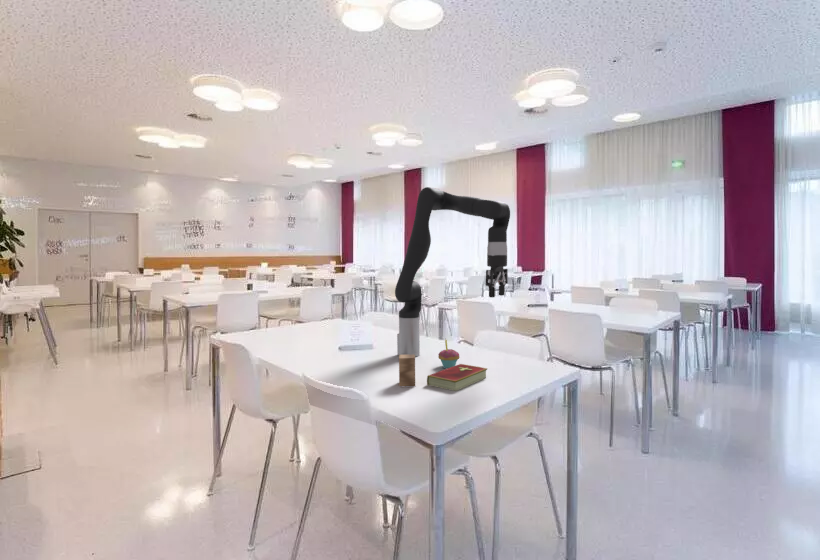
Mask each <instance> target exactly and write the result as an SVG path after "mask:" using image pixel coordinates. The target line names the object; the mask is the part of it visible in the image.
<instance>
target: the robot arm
mask: <svg viewBox="0 0 820 560" xmlns="http://www.w3.org/2000/svg"><path fill="white" fill-rule="evenodd" d="M415 207H416V209H415V216H414V220H413V225H412V229H411V233H410V234H411V235H410V237H409V240H408V244H407V249H406V252H405V257H404V262H403V265H402V268H401V271H400V274H399V276H398V280H397V283H396V286H395V290H394V296H395V298H396V300H397V302H399V303H403V304H404V305H403V307H402V308H401V309H400V310H399V312H398V333H397V335H396V337H397V338H396V339H397V341H396V343H397V344H396V345H397V352H396V353H397V355H398V356H399V355H412V354H415V357H419V356H420V354H421V352H420V350H421V349H420V347H421V346H420V336H421V335H420V313H421V310H422V300H423V299H422V296H423V295H422V293H423V292H422V287H421V284H420V283H418V281H416V280H415V277H416V274H417V272H418V271H419V269H420V268H421V266H423V264H424V262H425V261H426V259H427V257H428V256H429V251H430V248H431V244H432V237H431V232H430V218H431V216H432V215H431V214H432V211H443V210H444V211H454V212H458V213H461V214H464V215H468V216H473V217H481V218H485V219H488V220H493V223H492V226H491V227H489V228H488V232H487V247H486V249H487V251H486V252H487V253H486V258H487V259H486V265H487V267H488V268H489V267H490V269H486V270H485V287H488V297H489V298H496V285H497V283H498V295H499V296H503V297H504V296H505V295H506V294H505V293H506V289H505V288H506V286H507V284H508V281H509V280H508V279H509V277H508V276H509V275H508V273H509V272H508V268H505V267H507V266H508V243H507V242H508V240H507V238H508V237H507V236H508V235H507V231H508V227H509V223H510V219H511V209H510V206H509V204H508V203H506V202H504V201H498V200H492V199H490V200H489V199H483V198H481V197H474V196H466V195H463V196H462V195H455V194H452V193H449V192H447V191H444V190H441V189H440V188H434V187H427V186H426V187H423V188H422V189H421V190H420V191H419V194H418V197H417V203H416V206H415Z"/></svg>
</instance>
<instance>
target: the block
mask: <svg viewBox="0 0 820 560" xmlns="http://www.w3.org/2000/svg"><path fill="white" fill-rule="evenodd" d="M398 366H399V367H398V369H399V370H398V373H399V375H398V377H399V380H398V384H399V386H415V387H416V356H415V354H412V355H398Z"/></svg>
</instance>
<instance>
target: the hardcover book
mask: <svg viewBox="0 0 820 560" xmlns="http://www.w3.org/2000/svg"><path fill="white" fill-rule="evenodd" d="M487 370H488V368H487V367H483V366H482V367H481V366H476V365H470V364H465V363H459V364H456V365H455V366H453V367H450V368H444V369H442V370H439V371H436V372H433V373H430V374H428V375H427V377H426V386H430V385H431V387H435V386H436V388H439V387H440V388H441V389H444V390H448V389H449V390H450V391H453V392H456V391H459V390H462V389H464V388H466V387H468V386H470V385H472V384H475V383H477V382H480V381H482V380H485V379H486V378H487ZM449 390H448V391H449Z"/></svg>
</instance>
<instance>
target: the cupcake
mask: <svg viewBox="0 0 820 560" xmlns="http://www.w3.org/2000/svg"><path fill="white" fill-rule="evenodd" d="M444 343H445V349H443V350H440V351H439V353H437V354H438V359H439V360H440V361H441V365H442V367H443V368H444V369H448V368H450V367H453V366H456V365H457V362H458V360H459V359H460V354H459V352H458V351H456V350H455V349H450V348H449V349H448V339H446V338H445V340H444Z"/></svg>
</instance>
